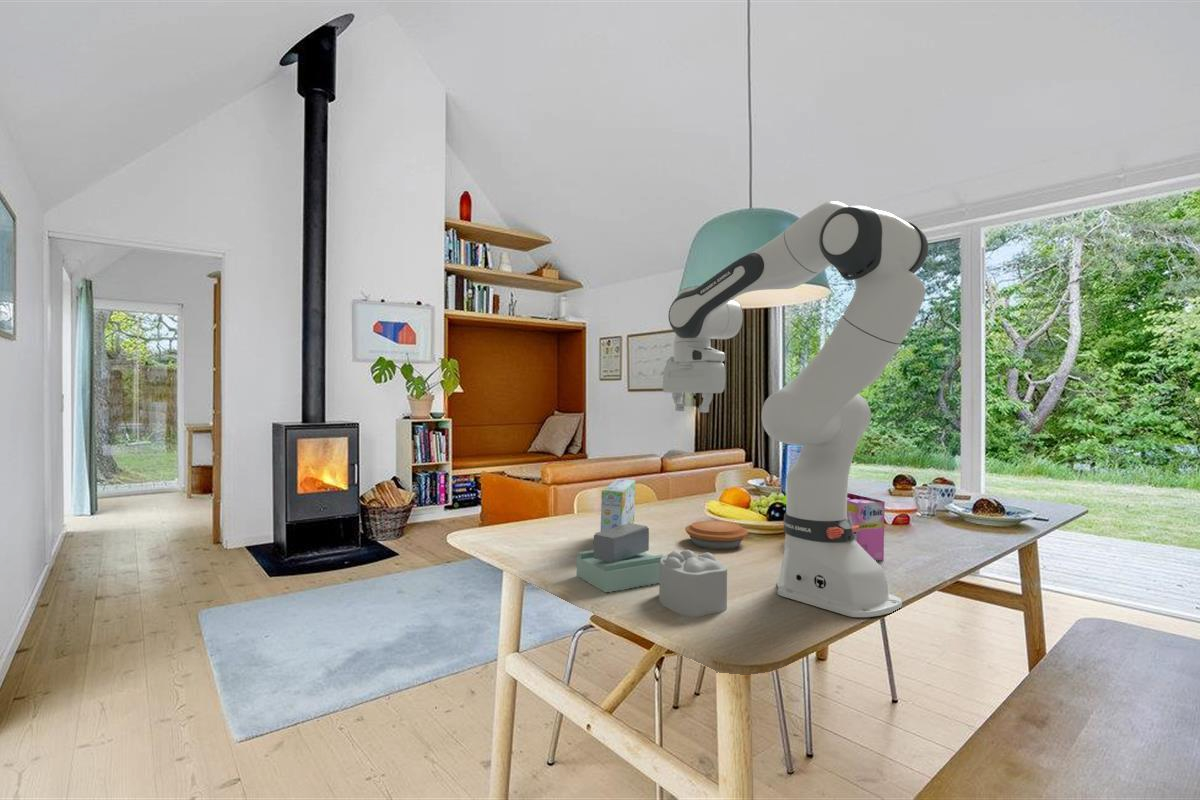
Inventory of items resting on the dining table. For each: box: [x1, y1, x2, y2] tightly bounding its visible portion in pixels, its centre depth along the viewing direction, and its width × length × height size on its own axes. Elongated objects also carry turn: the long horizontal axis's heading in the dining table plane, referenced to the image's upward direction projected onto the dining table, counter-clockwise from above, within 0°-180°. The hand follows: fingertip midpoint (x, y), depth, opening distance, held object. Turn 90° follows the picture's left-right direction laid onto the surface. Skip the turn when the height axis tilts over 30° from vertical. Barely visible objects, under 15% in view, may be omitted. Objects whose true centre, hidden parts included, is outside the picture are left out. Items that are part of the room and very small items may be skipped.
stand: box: [576, 549, 664, 594], centre depth 121 cm, size 12×14×5 cm
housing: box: [593, 523, 650, 563], centre depth 121 cm, size 12×5×5 cm, turn 142°
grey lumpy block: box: [658, 549, 728, 618], centre depth 108 cm, size 10×13×9 cm
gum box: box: [847, 492, 886, 561], centre depth 146 cm, size 24×8×14 cm, turn 18°
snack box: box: [599, 478, 636, 532], centre depth 148 cm, size 21×6×15 cm, turn 168°
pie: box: [684, 520, 749, 550], centre depth 150 cm, size 15×16×5 cm
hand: (691, 411), depth 145 cm, fingers open, 8 cm apart
